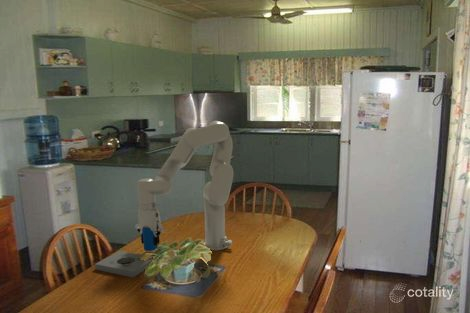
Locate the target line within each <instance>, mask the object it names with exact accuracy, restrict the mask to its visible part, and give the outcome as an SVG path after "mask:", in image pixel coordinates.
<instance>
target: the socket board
mask: <svg viewBox="0 0 470 313" xmlns="http://www.w3.org/2000/svg"><path fill="white" fill-rule="evenodd" d="M142 255H143V254H140V253H139V254H138V253H135V252H128V251H122V250H120V251H119V250H118V251H117V252H116V253H113V254H112V255H109V256H107V257H106V258H104V259H102V260H100V261H98V262H95V263H94V271H95V270H96V271H101V272H106V273H111V274H115V275H118V276H124V277H129V278H131V279H132V278H135V277H136V276H138V275H140V274H141V273H143V272H145V271H144V269H145V268H146V267H147V266H148V265H149V264H150V263H151V262H152V260H153V258H149V259H148V260H147V261H144V260H140V257H141V256H142ZM127 262H129V263H127ZM130 262H131V263H130ZM121 263H122V264H121Z"/></svg>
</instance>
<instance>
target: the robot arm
mask: <svg viewBox="0 0 470 313" xmlns="http://www.w3.org/2000/svg"><path fill="white" fill-rule="evenodd" d="M233 144H234V143H233V139H232V136H231V133H230V129H229V125H227V124H226V123H225V122H222V121H218V120H213V121H211V122H209V124H208V125H206V126H203V127H198V128H196V127H189V128H187V129H186V130H185V131H184V133H183V134H182V136H181V138H180V139H179V141H178V142H177V144H176V145H175V147H174V149H173V151H172V152H171V153H170V156H168V158H167V159H166V160H165V162H164V164H163V165H162V166H161V168H160V170H159V171H158V173H157V175H156V176H155V178H154V179H153V178H150V177H149V178H141V179H139V180H138V181H137V183H136V184H137V194H138V195H137V196H138V206H139V207H138V211H137V223H136V224H135V225H134V227H135V229H136V230H137V232H138V233H139V235H140V238H141V239H140V241H141V244H143V233H142V228H143V226H144V227H149V228H150V229H151V231H153V234H154V236H155V237H154V245H157V244H158V245H159V244H160V235H161V234H162V233H163V231H164V230H165V227H164V226H162V222H161V216H160V215H161V214H160V212H159V208H158V206H159V205H158V204H157V202H156V196H157V195H158V196H165V195H168V194H169V193H171V192H172V190H173V184H172V181H173V180H174V178H175V176H176V175H177V173H178V172H179V171H180V170H181V169H182V168H184V167H185V166H186V165H187V164H188V163H189V162H190V160H191V158H192V157H193V155H194V154H195V152H196V151H197V149H199V148H203V147H207V146H210V145H214V148H213V154H212V158H211V163H210V166H209V174H210V175H211V181H208V182H207V183H206V184H204V186H203V191H202V196H203V197H202V198H203V203H204V205H203V206H204V207H203V208H204V234H205V236H204V237H205V241H204V242H203V243H202V244H204V245H205V246H207V247H208V248H210V249H211V250H212V251H222V250H225V249H227V248H228V247H232V246H233V240H231V239H228V236H226V212H225V208H226V207H225V204H226V203H227V201H228V199H229V196H230V192H231V189H232V185H233V181H234V180H233V179H234V169H233V166H232V165H231V161H232V155H233V154H232V153H233V148H234V146H233ZM156 232H157V233H156ZM143 245H144V244H143ZM211 250H210V251H211Z"/></svg>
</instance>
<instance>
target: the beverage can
mask: <svg viewBox="0 0 470 313" xmlns="http://www.w3.org/2000/svg"><path fill="white" fill-rule="evenodd" d="M142 233H143V250H144V251H146V252H148V253H152V252H156V250H157V249H156V248H157V247H158V248H159V244H157V245H154V237H155V236H154V234H153V231H151V229H150V228H149V227H144V226H143V228H142ZM156 233H157V232H156ZM155 249H156V250H155Z"/></svg>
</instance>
